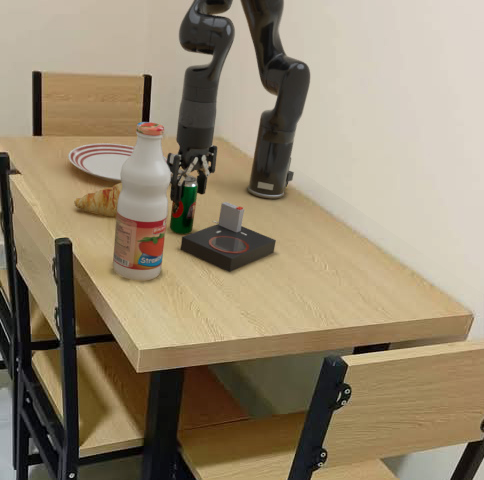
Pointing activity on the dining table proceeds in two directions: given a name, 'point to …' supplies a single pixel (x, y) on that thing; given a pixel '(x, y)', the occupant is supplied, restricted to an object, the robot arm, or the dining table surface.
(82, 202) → the croissant
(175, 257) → the dining table surface
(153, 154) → the strawberry milk bottle
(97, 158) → the dinner plate
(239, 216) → the cooker dial
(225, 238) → the hot plate ring
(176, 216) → the soda can
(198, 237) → the cooker
